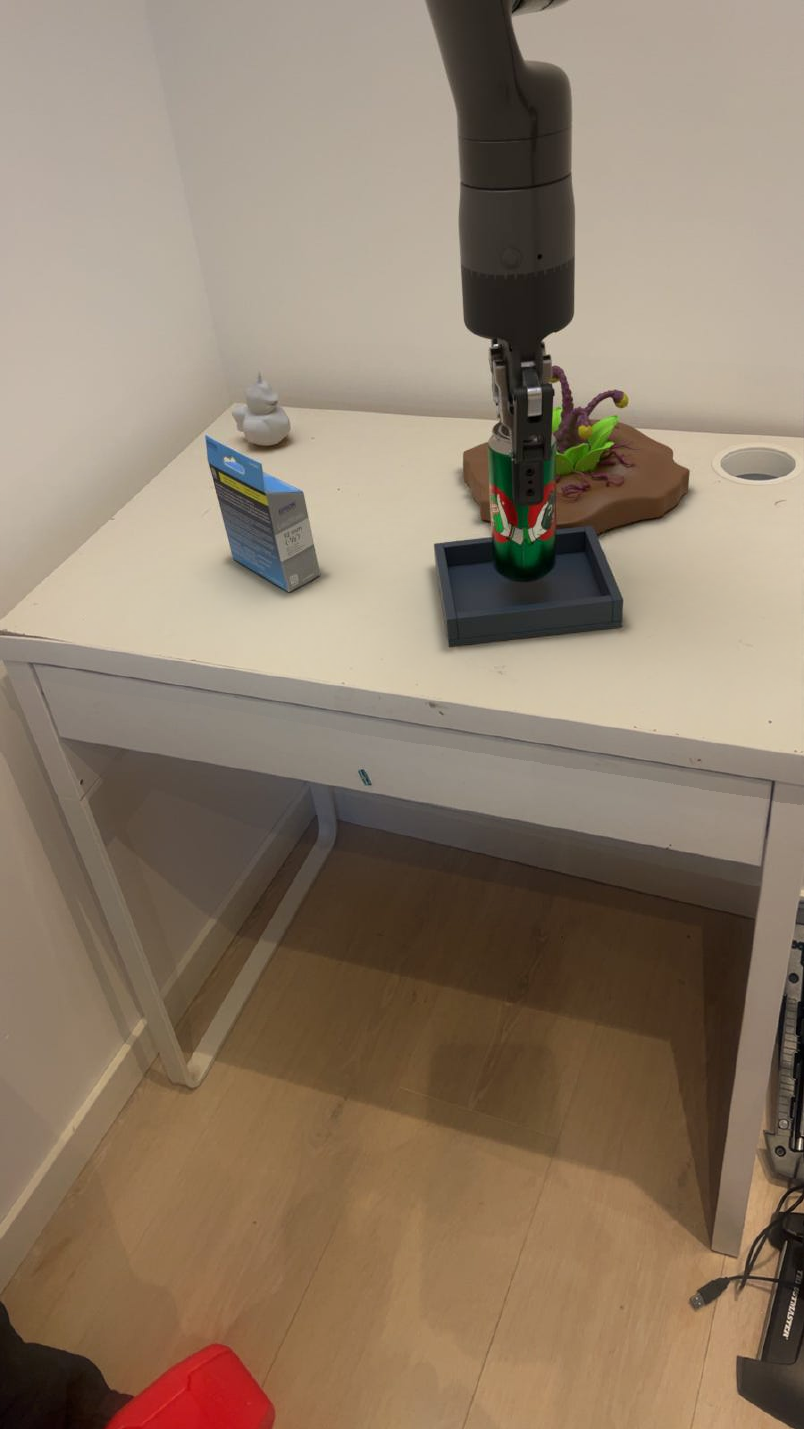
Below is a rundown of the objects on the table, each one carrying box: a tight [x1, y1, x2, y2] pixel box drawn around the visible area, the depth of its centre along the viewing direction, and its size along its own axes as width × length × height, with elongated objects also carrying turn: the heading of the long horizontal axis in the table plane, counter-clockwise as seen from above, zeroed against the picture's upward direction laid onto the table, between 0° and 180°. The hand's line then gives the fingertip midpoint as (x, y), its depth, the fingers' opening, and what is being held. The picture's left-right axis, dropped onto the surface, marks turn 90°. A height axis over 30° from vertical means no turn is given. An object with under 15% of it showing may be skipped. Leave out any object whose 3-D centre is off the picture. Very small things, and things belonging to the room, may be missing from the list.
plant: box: [462, 364, 690, 536], centre depth 96 cm, size 20×20×11 cm
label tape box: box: [204, 432, 321, 593], centre depth 89 cm, size 9×4×12 cm, turn 41°
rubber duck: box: [231, 371, 291, 447], centre depth 111 cm, size 5×7×8 cm
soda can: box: [487, 421, 556, 582], centre depth 80 cm, size 5×5×12 cm
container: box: [433, 526, 624, 647], centre depth 85 cm, size 14×12×3 cm
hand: (522, 484), depth 79 cm, fingers closed on soda can, 5 cm apart
